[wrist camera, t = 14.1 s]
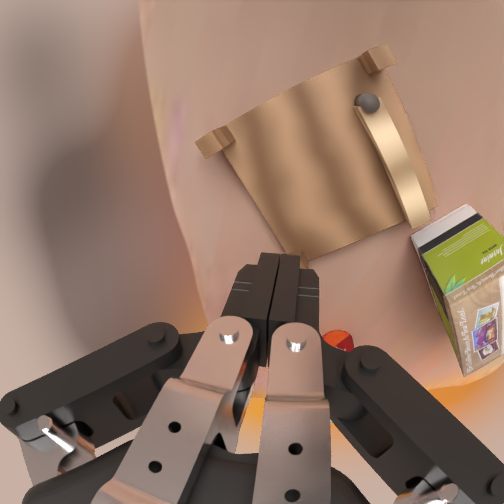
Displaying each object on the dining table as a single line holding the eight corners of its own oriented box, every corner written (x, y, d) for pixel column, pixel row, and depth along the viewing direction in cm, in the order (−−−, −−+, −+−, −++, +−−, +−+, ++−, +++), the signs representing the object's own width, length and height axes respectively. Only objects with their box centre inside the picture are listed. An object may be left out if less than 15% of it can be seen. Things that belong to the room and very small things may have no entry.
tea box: (484, 278, 33) (522, 345, 20) (434, 305, 37) (461, 380, 25) (466, 199, 28) (528, 260, 16) (407, 233, 32) (447, 310, 20)
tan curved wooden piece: (348, 99, 24) (354, 99, 21) (368, 89, 23) (377, 89, 20) (404, 217, 29) (414, 232, 26) (422, 209, 28) (433, 223, 25)
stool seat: (369, 54, 22) (386, 43, 16) (432, 199, 29) (455, 224, 23) (217, 132, 31) (194, 142, 25) (295, 258, 37) (291, 291, 32)
